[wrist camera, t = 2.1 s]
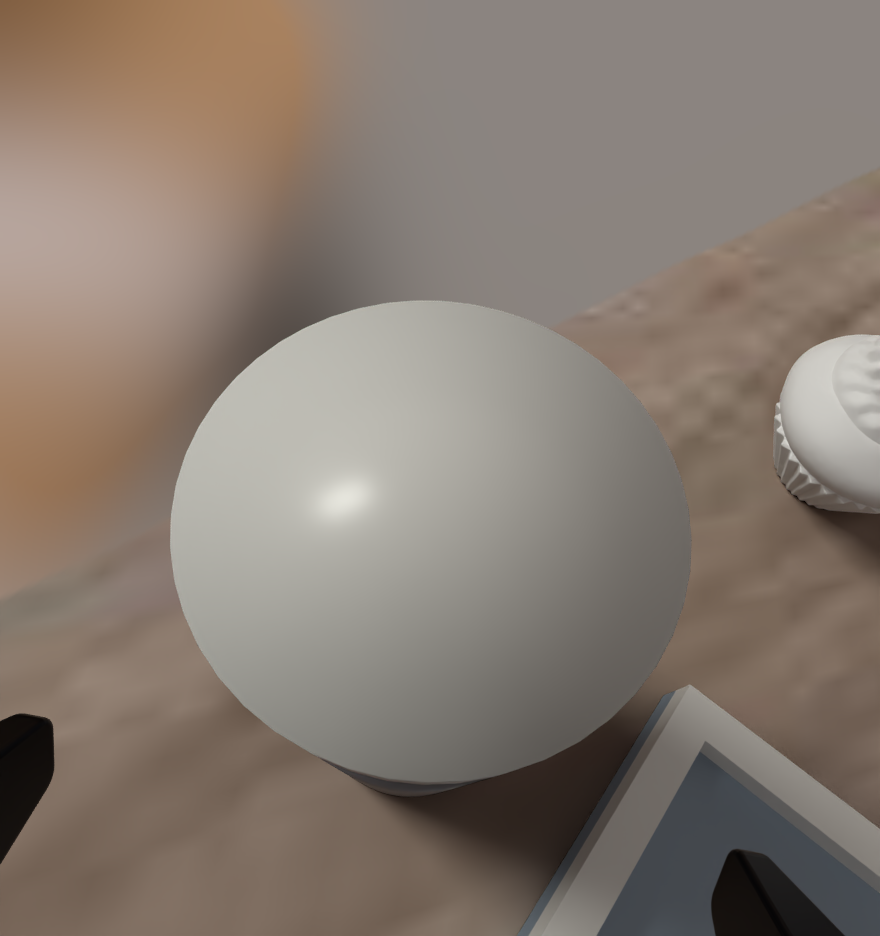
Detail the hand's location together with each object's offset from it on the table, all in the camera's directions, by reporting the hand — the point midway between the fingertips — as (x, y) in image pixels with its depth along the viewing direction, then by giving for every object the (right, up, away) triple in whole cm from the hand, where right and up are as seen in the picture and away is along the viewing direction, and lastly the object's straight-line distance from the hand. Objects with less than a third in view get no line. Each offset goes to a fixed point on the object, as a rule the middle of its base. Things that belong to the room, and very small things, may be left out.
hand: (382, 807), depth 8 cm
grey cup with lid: (0, -2, +11) cm, 11 cm away
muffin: (+14, +4, +15) cm, 21 cm away
